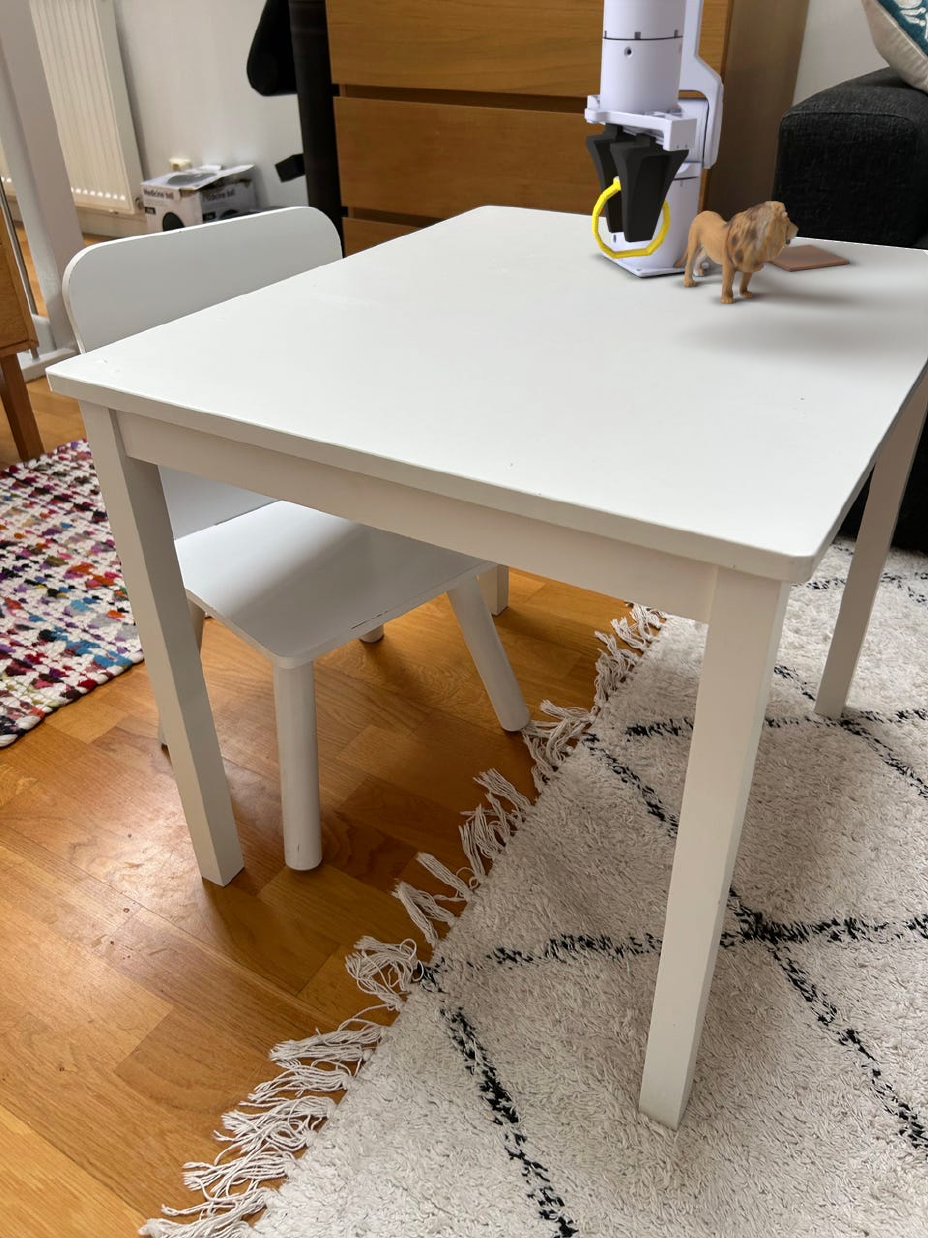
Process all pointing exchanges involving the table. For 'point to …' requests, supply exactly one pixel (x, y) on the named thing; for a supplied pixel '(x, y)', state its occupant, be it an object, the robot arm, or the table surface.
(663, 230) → the yellow signet ring
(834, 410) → the table surface
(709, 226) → the lion figurine
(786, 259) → the coaster
